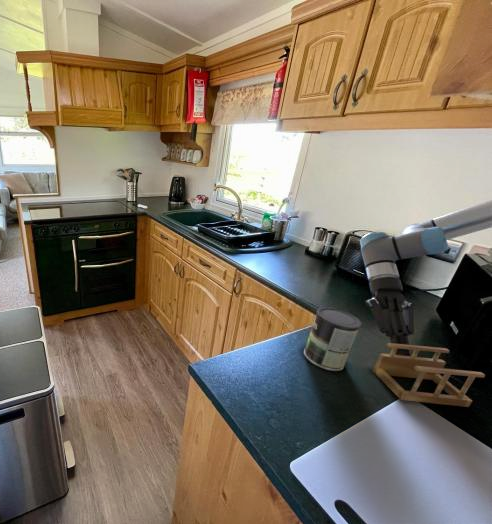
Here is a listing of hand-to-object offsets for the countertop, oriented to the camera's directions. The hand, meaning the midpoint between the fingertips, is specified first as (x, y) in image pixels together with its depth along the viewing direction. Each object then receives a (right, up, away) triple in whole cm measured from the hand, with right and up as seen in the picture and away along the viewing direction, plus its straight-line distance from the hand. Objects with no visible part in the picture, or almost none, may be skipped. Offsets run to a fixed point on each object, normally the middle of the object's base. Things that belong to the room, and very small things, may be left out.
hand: (404, 360), depth 79 cm
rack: (-1, -6, -5) cm, 7 cm away
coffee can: (-20, -1, +4) cm, 20 cm away
